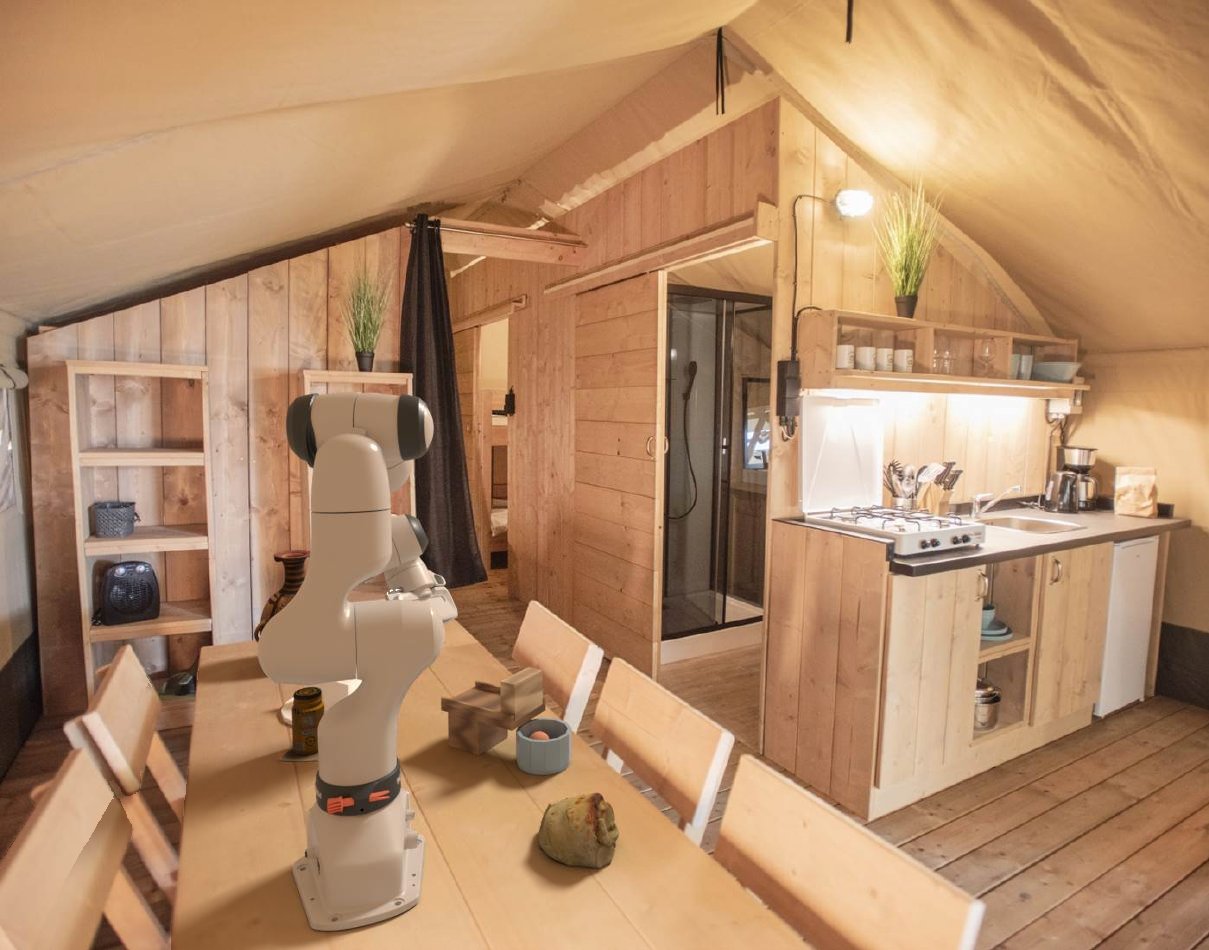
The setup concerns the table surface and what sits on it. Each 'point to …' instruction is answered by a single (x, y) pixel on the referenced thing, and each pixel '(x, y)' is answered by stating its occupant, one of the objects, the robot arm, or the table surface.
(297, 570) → the vase
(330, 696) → the dish
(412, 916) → the table surface
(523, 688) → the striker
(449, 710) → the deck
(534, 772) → the cup
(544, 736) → the ball
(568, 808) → the pastry
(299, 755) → the condiment
